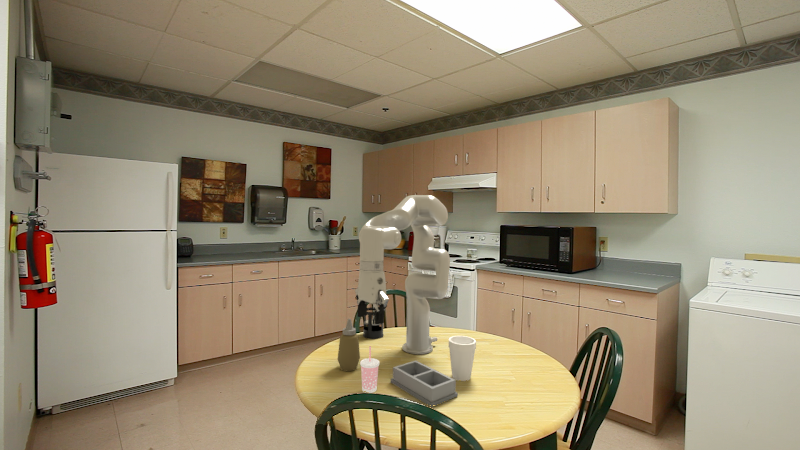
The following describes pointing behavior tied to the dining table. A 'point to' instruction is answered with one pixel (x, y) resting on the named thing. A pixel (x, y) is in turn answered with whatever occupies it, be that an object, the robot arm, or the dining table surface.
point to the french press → (372, 326)
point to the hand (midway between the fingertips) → (370, 319)
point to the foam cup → (462, 356)
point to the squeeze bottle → (348, 348)
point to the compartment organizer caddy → (424, 383)
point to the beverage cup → (369, 373)
